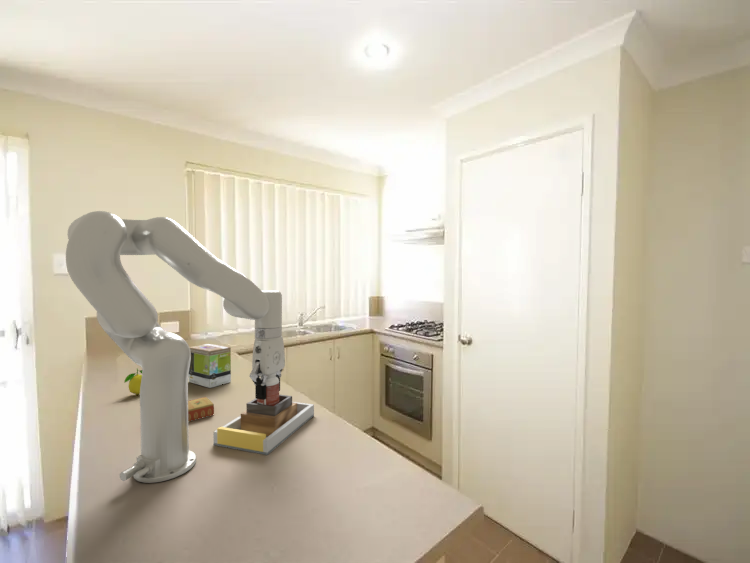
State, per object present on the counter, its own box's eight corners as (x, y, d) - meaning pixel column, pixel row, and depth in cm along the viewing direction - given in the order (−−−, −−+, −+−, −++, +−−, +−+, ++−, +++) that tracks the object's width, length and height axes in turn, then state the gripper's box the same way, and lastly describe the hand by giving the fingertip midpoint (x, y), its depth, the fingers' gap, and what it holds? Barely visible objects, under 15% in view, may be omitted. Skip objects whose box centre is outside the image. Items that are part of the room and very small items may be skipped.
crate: (274, 437, 96) (274, 409, 95) (240, 431, 99) (240, 404, 99) (297, 419, 107) (297, 394, 107) (266, 414, 110) (265, 391, 110)
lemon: (152, 392, 132) (152, 366, 132) (140, 398, 126) (140, 370, 126) (136, 391, 133) (135, 365, 133) (123, 397, 127) (123, 369, 127)
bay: (267, 455, 88) (267, 436, 88) (213, 445, 93) (213, 427, 92) (313, 415, 112) (313, 401, 111) (269, 409, 116) (269, 395, 116)
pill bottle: (281, 404, 105) (281, 367, 105) (276, 412, 99) (276, 373, 99) (260, 404, 105) (260, 367, 105) (254, 412, 99) (254, 373, 99)
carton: (214, 416, 112) (214, 403, 112) (155, 431, 101) (155, 417, 101) (206, 408, 118) (206, 395, 118) (150, 422, 107) (150, 408, 107)
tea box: (231, 382, 145) (231, 346, 144) (209, 389, 136) (208, 351, 136) (210, 376, 153) (209, 342, 152) (187, 382, 144) (187, 346, 144)
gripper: (261, 339, 92) (261, 407, 93) (295, 329, 109) (294, 387, 109) (237, 337, 94) (237, 403, 95) (274, 328, 111) (273, 384, 111)
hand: (268, 394), depth 102 cm, fingers closed on pill bottle, 6 cm apart
